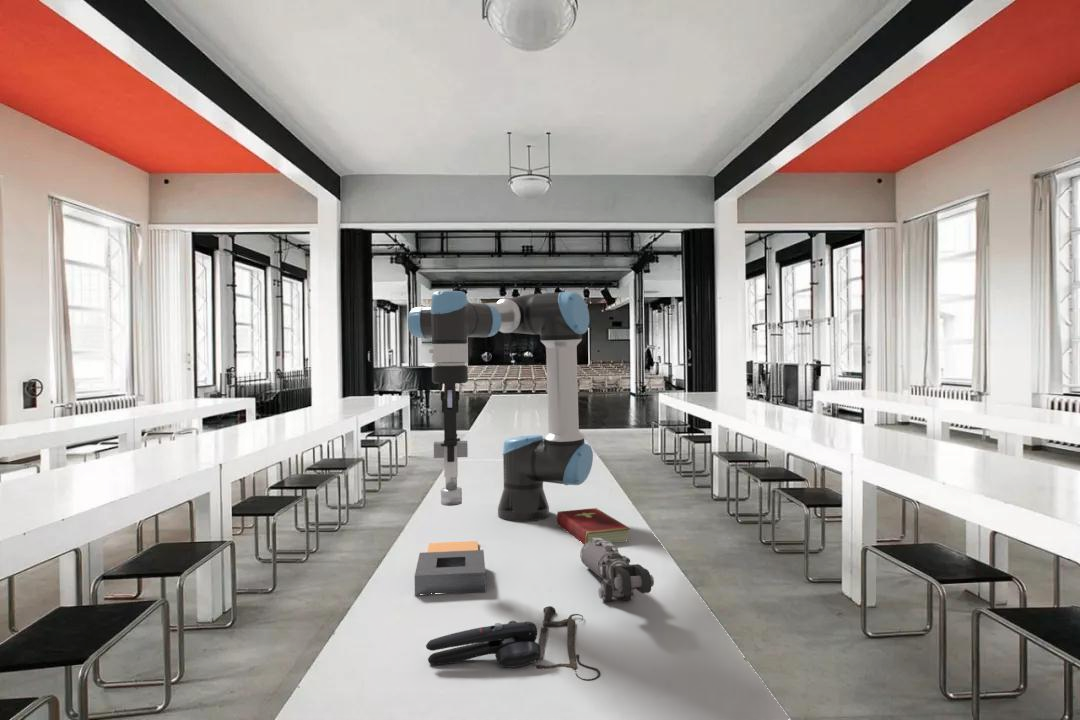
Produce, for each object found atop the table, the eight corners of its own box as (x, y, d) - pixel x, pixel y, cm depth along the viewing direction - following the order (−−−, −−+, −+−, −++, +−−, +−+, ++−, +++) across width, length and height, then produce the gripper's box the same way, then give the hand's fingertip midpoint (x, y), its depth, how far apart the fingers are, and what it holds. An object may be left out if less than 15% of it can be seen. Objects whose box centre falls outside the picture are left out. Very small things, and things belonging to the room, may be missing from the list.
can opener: (537, 646, 101) (537, 612, 101) (542, 668, 94) (542, 631, 94) (428, 652, 99) (427, 618, 99) (424, 675, 92) (424, 637, 92)
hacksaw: (542, 611, 115) (542, 603, 115) (598, 613, 114) (598, 605, 114) (530, 685, 91) (530, 676, 91) (600, 689, 90) (600, 679, 90)
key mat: (477, 544, 154) (477, 541, 154) (478, 560, 142) (478, 556, 142) (429, 546, 153) (429, 543, 153) (426, 562, 141) (425, 559, 141)
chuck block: (483, 567, 138) (483, 549, 137) (485, 592, 124) (485, 572, 124) (419, 570, 136) (419, 552, 136) (414, 595, 122) (414, 575, 122)
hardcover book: (586, 548, 152) (586, 531, 152) (556, 525, 172) (556, 510, 172) (629, 543, 156) (629, 526, 156) (596, 521, 176) (596, 507, 176)
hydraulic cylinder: (620, 621, 105) (617, 560, 107) (574, 578, 141) (572, 533, 142) (661, 617, 106) (657, 557, 108) (605, 576, 142) (603, 531, 144)
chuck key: (467, 500, 133) (467, 440, 133) (468, 505, 129) (467, 443, 129) (435, 501, 132) (434, 441, 132) (434, 506, 128) (433, 444, 128)
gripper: (433, 363, 138) (434, 468, 138) (429, 365, 122) (431, 484, 122) (467, 363, 139) (468, 467, 139) (468, 365, 123) (469, 482, 123)
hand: (451, 474), depth 131 cm, fingers closed on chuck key, 3 cm apart
